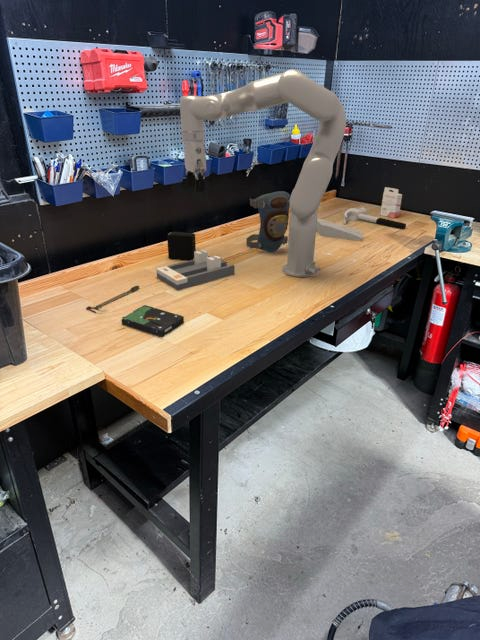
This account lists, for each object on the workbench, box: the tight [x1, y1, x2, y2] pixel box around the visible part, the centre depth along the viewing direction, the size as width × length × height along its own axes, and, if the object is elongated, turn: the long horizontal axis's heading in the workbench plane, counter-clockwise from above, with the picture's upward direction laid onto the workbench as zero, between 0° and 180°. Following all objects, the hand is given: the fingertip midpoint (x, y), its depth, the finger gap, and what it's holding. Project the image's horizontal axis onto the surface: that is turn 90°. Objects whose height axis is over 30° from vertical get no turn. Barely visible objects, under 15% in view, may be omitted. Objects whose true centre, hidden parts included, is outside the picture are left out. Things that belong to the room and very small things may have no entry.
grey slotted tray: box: [156, 254, 236, 291], centre depth 162 cm, size 14×24×4 cm, turn 128°
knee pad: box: [245, 190, 291, 253], centre depth 185 cm, size 18×20×25 cm
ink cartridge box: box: [380, 186, 403, 219], centre depth 238 cm, size 9×5×15 cm, turn 43°
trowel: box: [316, 217, 364, 242], centre depth 209 cm, size 28×16×5 cm, turn 44°
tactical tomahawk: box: [86, 285, 140, 314], centre depth 144 cm, size 21×7×1 cm, turn 145°
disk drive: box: [120, 304, 185, 338], centre depth 130 cm, size 10×3×15 cm
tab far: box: [193, 249, 209, 264], centre depth 166 cm, size 3×4×5 cm
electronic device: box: [166, 231, 197, 262], centre depth 177 cm, size 4×10×10 cm, turn 79°
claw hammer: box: [343, 207, 407, 230], centre depth 226 cm, size 5×22×30 cm
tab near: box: [207, 254, 222, 271], centre depth 161 cm, size 3×4×5 cm
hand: (195, 188), depth 160 cm, fingers open, 9 cm apart
